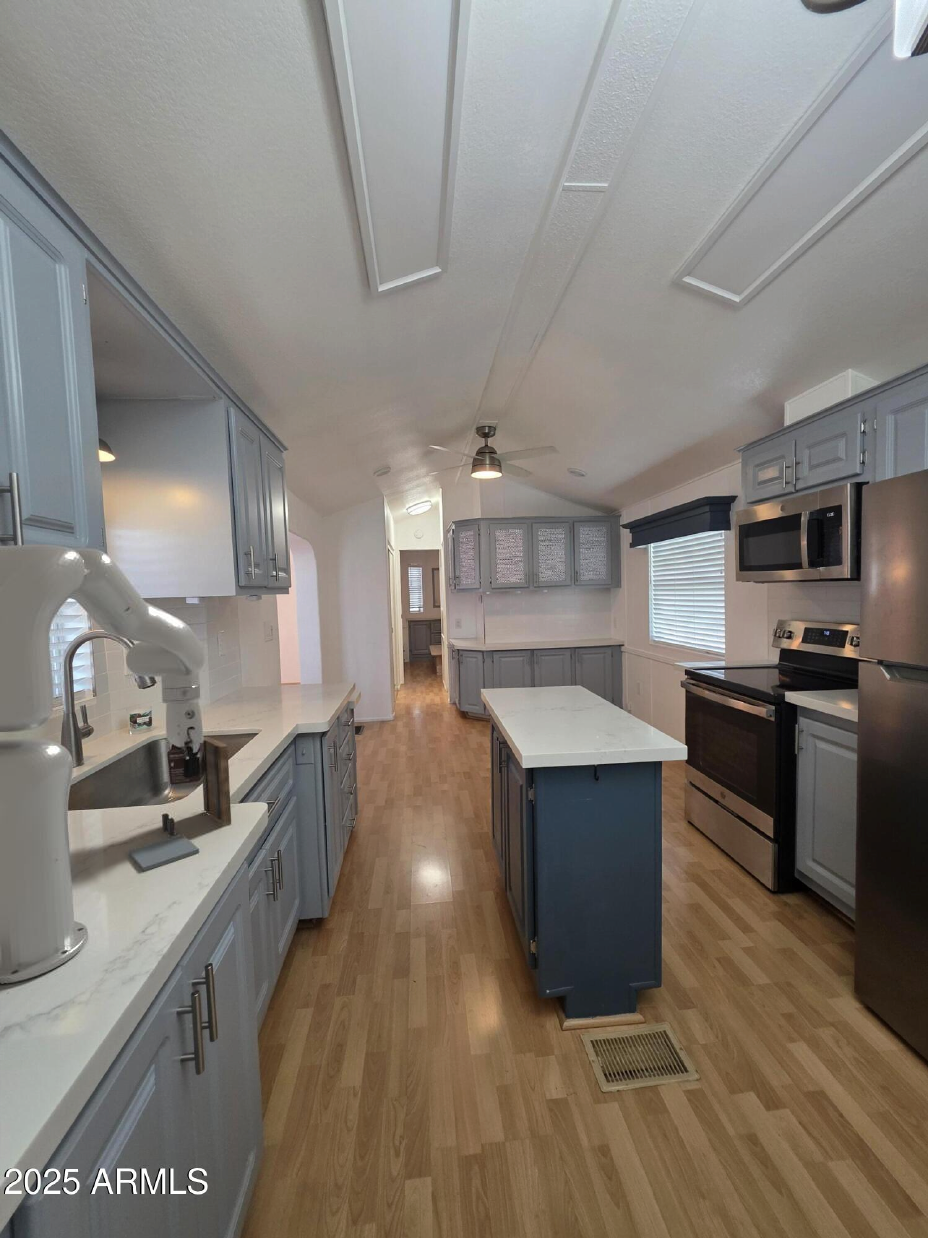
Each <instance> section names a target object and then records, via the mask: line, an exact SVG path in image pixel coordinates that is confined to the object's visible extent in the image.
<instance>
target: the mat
mask: <svg viewBox="0 0 928 1238" xmlns="http://www.w3.org/2000/svg"><path fill="white" fill-rule="evenodd" d="M199 853H200V848H198V846H196V845H195V844H194V842H192V841H191V840H190V839H188V838H187V837H186V836H185V835H183V834H182V833H181V834H178V835H174V836H171V837H168V838H165V839H162V840H159V841H155V842H153V843H150V844H146V845H142V846H139V847H137V848H133V849H130V850H128V856H129V857H130V858H131V859H132V860H133V862H134V863H135V864H136V865H137V866H138V868H140V870H142V872H147V871H151V870H153V869H155V868H159V867H162V866H164V865H167V864H171V863H173V862H177V861H179V860H181V859H185V858H188V857H191V856H194V855H196V854H199Z"/></svg>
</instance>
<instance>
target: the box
mask: <svg viewBox="0 0 928 1238" xmlns="http://www.w3.org/2000/svg"><path fill="white" fill-rule="evenodd" d="M186 744H191V743H186ZM186 744H185V745H186ZM189 749H190V748H188V749H187V751H189ZM199 749H200V750H199V754H200V756H199V762H200V774H199V775H196V776H192V777H188V778H185V777H184V775H183V759H185V758H184V754H183V750H182V748H180V747H178V746H176V745H175V746H174V747H173V748H172V749H171V750H170V751H169V750H168V751H167V754H166V755H167V763H168V764H167V765H168V773H169V783H170V785H171V786H173V785H181V784H189V783H198V782H200V781H201V779H202V776H203V775H204V774H205V759H204V748H203V743H202V744H201V745H199Z"/></svg>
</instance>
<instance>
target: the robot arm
mask: <svg viewBox="0 0 928 1238" xmlns="http://www.w3.org/2000/svg"><path fill="white" fill-rule="evenodd" d="M69 599H70V600H74V601H75V602H77V604H79V606H80V607H82V609H83V610H84V611H85V612H86V613H87V614H88V615H89V617H91V618H92V620H93V621H94V622H95V623H96V624H97V625H98V626H99V627H100V629H101V630H102V631H104V632H105V633H106V634H107V633H108V634H110V635H113V636H116V637H119V638H123V639H127V640H131V641H136V642H137V643H135V644H133V645H132V646H131V647H130V648H129V649H128V651H127V652H126V657H125V662H126V667H127V668H128V670H129V671H130V672H131V673H132V674H134V675H136V676H139V677H145V678H147V677H148V678H151V677H153V678H155V677H160V679H161V680H160V681H161V699H162V700H161V701H162V703H163V704H165V728H166V729H165V731H166V733H165V734H166V740H167V741H168V744H169V745H168V746H169V747H168V752H169V751H170V750H171V749H172V748H173V747H174V746H175V745H176V746H178V747H180V748H182V750H183V754H184V758H185V759H183V775H184V777H185V778H188V777H192V776H196V775H199V774H200V762H199V756H200V754H199V750H200V749H199V745H201V744H202V743H203V737H204V732H203V731H204V730H203V719H202V718H203V717H202V712H201V706H200V701H199V700H201V683H200V681H201V680H200V671H201V670H202V668H203V666H204V663H205V656H206V655H205V651H204V648H203V645H202V643H201V641H200V640H199V638H198V637H197V635H196V634H195V633H194V631H193V630H192V628H191V627H190V626H189V625H188V624H187V623H185V622H184V621H183V620H181V619H180V618H178V617H176V616H174V615H173V614H171V613H169V612H167V611H166V610H163V609H161V608H160V607H157V606H155V605H153V604H151V603H148V602H146V601H145V599H143V597H142V596H141V595H140V593H139V592H138V591H137V590H136V588H135V587H134V585H133V584H132V582H131V581H130V580H129V579H128V578H127V576H126V575H125V574H124V572H123V571H122V570H121V569H120V567H119V566H118V565H117V563H116V562H115V561H114V559H113V558H112V557H111V556H109V554H107V553H106V552H104V551H102V550H99V549H95V548H89V547H88V548H87V547H86V548H85V547H83V548H82V547H80V548H79V547H77V548H75V547H74V548H73V547H72V548H70V547H67V546H62V545H55V544H23V545H22V544H19V545H0V733H15V732H17V733H19V732H24V731H31V730H33V729H38V728H39V727H41V726H43V725H44V724H46V723H47V722H48V720H50V718H51V716H52V714H53V710H54V705H55V704H54V703H55V699H54V698H55V697H54V696H55V695H54V681H53V672H52V660H51V650H50V649H51V648H50V631H51V626H52V624H53V621H54V619H55V617H56V615H57V613H58V612H59V611H60V610H61V608H62V607H63V605H64V604H65V603H66V602H67V601H68V600H69ZM187 743H191V744H187ZM185 744H186V745H185ZM188 748H190V749H189V751H187V749H188ZM73 761H74V760H73V757H72V755H71V753H70V752H69V750H68V749H67V747H65V746H64V745H62V744H61V743H58V742H56V741H53V740H49V739H42V738H11V739H10V738H7V739H6V738H5V739H4V738H3V739H0V983H1V984H0V985H2V984H4V983H6V984H10V983H17V982H21V981H25V980H29V979H30V978H31V979H32V978H35V977H37V976H40V975H42V974H45V973H47V972H49V971H52V970H53V969H55V968H57V967H59V966H61V965H62V964H64V963H66V962H67V961H69V960H70V959H72V958H73V957H75V956H76V954H78V953H79V952H80V951H81V950H82V949H83V948H84V946H85V945H86V943H87V941H88V938H89V937H88V936H89V935H88V927H87V925H85V924H83V923H82V922H79V921H75V915H74V914H75V912H74V896H73V884H72V883H73V882H72V881H73V880H72V868H71V864H72V863H71V852H70V850H71V849H70V838H69V837H70V836H69V818H68V817H69V815H68V813H69V811H68V810H69V797H70V789H71V786H72V785H71V784H72V778H73V773H74V772H73V771H74V762H73Z"/></svg>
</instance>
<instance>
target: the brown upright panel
mask: <svg viewBox="0 0 928 1238" xmlns="http://www.w3.org/2000/svg"><path fill="white" fill-rule="evenodd" d="M228 746H229V745H227V744H225V743H223V742H221V741H219V740H216V739H214V738H211V737H209V736H203V748H204V759H205V774H204V775H203V776H202V778H201V779H202V792H203V793H202V795H203V797H202V799H203V812H204V811H206V813H208V814H209V815H210V816H209V815H208V814H207V815H208V816H209V817H211V818H212V819H213V818H214V821H216V822H218V823H219V824H220V825H222V826H223V827H226V826H229V825H232V812H231V809H232V808H231V807H232V806H231V790H230V789H231V788H230V786H231V785H230V769H229V768H230V767H229V765H230V764H229V749H228V748H229V747H228ZM206 813H205V814H206ZM161 823H162V824H161V825H162V826H161V827H162V831H163V832H164V833H166V832H167V835H168V837H169V838H171V837H174V836H176V827H175V826H176V825H175V824H176V823H175V818H173V817H171V818H170V815H169V813H167V812H166V813H163V814H161Z"/></svg>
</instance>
